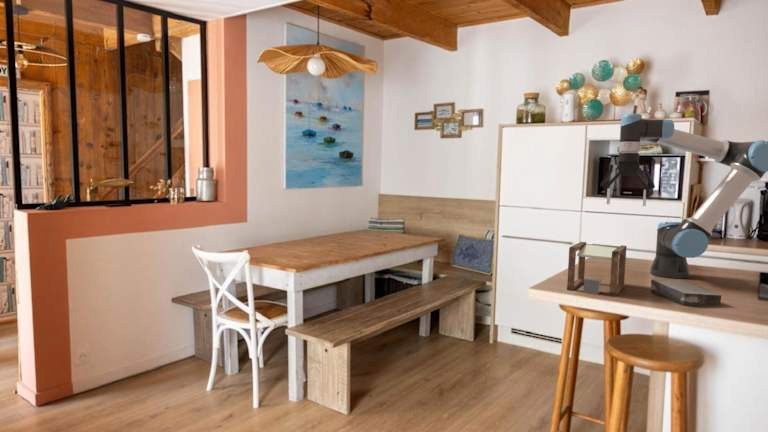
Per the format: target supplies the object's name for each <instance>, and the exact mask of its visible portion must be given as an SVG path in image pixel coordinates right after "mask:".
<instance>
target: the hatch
mask: <svg viewBox="0 0 768 432" xmlns="http://www.w3.org/2000/svg"><path fill="white" fill-rule="evenodd" d="M619 246H620V245H619ZM619 246H618V245H610V244H601V243H599V244H597V243H591V244H589V243H586V245H585V246H584V247H583V248H582V249H581V250H580V252H578V253H576V257H579V256H581V257H585V258H590V259H591V258H592V259H599V260H601V259H602V260H603V259H604V260H610V261H612V251H614V250H615V249H617V248H618V247H619Z"/></svg>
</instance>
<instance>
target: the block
mask: <svg viewBox="0 0 768 432" xmlns="http://www.w3.org/2000/svg"><path fill="white" fill-rule="evenodd" d="M650 293H651V294H653V295H656V296H658V297H661V298H664V299H666V300H669V301H671V302H673V303H675V304H678V305H680V306H683V307H684V306H685V307H688V306H689V307H701V306H706V307H708V306H709V307H711V306H712V307H713V306H714V305H715V306H716V305H719V306H721V302H722V301H721V300H722V295H721V294H718V293H715V292H713V291H710V290H707V289H705V288H703V287H699V286H697V285H694V284H692V283H689V282H687V281H682V280H679V281H678V280H667V279H666V280H664V279H663V280H662V279H650Z"/></svg>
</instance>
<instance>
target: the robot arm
mask: <svg viewBox="0 0 768 432" xmlns="http://www.w3.org/2000/svg"><path fill="white" fill-rule="evenodd" d="M620 121H621V122H620V126H619V127H620V133H619V135H620V136H619V146H618V147H619V149H618V152H619V154H618V163H617V165H615V164H614V163H613V164H609V166H608V167H609V169H608V171H607V172H606V174H605V176H604V177H603V179H602V181H601V182H600V184H599V185H600V187H601V188H603V189H604V197H606V205H610V204H611V189H612V188H610V186H612V184H613V183H615V181H617V180H618V179H619V177H620V176H625V177H626V176H630V177H631V176H634V177H635V178H636V179H637V180H638V182H640V183H641V185H642V186H643V188H644V189H643V197H642V207H646V206H647V199H649V198H650V194H651V193H650V191H651V190H652V189H655V188H656V186H655V183H654V181H653V179H652V176H651V175H650V172H649V170H648V165H647V164H644V165H643V164H642V165H640V153H639V152H640V149H641V141H643V142H644V141H646V142H651V143H655V144H659V145H662V146H665V147H670V148H673V149H677V150H680V151H683V152H688V153H691V154H694V155H698V156H702V157H706V158H709V159H712V160H714V162H716V163H718V164H721V165H724V166H727V167H730V170H729V172H728V173H727V174H726V175H725V177H724V178H722V180H721V181H720V182H719V184H718V185H717V186H716V187H715V188H714V190H712V191H711V193H710V194H709V195H708V197H707V198H706V199H705V200H704V201H703V203H702V204H701V205H700V207H699V208H698V209H697V210H695V212H694V213H693V215H692V216H691V217H685V218H684V219H683V220H682V221H681V222H680V221H661V222H659V223H658V225H657V228H656V231H657V233H656V246H655V247H656V248H655V257H654V260H653V261H652V263H651V266H650V270H649V273H650V274H651V275H654V276H658V277H663V278H669V279H688V278H690V275H691V271H690V267H689V263H688V260H687V258H690V259H693V258H697V257H700V256H701V255H703V254H704V253H705V252H706V251H707V249H708V245H709V240H710V239H711V237H712V236H713V234H712V233H713V232H712V230H713V229H714V227H715V226H716V225H717V224H718V223H719V222H720V220H721V219H722V218H723V217H724V216H725V215H726V213H727V212H728V211H729V210H730V209H731V208H732V206H733V205H734V204H735V203H736V201H737V200H738V199H739V198H740V197H741V195H742V194H743V193H744V192H745V191H746V190H747V189H748V188H749V186H750V185H752V183H753V182H758V181H760V180H761V179H762V178H763V177H764V175H765V174H766V173H767V172H768V140H756V141H743V142H740V141H739V142H738V141H730V140H727V139H725V140H724V139H723V140H722V141H720V140H716V139H713V138H709V137H705V136H702V135H698V134H694V133H690V132H686V131H684V130H680V129H676V128H675V122H674V121H673V120H672V119H667V118H666V119H665V118H661V119H660V118H659V119H658V118H657V119H655V118H654V119H652V118H651V119H649V118H647V119H645V118H643V115H642V114H641V113H626V114H623V115H622V116H621V120H620ZM616 169H617V170H618V172H617V173H616V174H615V175H614V176H613V177H612V178H611V179H610V177H611V175H612V174H613V171H614V170H616ZM639 170H641V171H642V172H643V173H644V175H645V177H646V179H647V182H648V183H647V182H646V181H645V180H644V178H642V176H641V175H640V174H639V172H638V171H639ZM609 179H610V180H609ZM608 180H609V181H608Z"/></svg>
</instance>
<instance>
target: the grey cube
mask: <svg viewBox="0 0 768 432" xmlns="http://www.w3.org/2000/svg"><path fill="white" fill-rule="evenodd" d="M601 286H602V278H599V277H598V278H597V277H591V276H586V277H584V282H583V293H586V294H591V295H599V294H600V293H601V291H602V290H601V288H602V287H601Z"/></svg>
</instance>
